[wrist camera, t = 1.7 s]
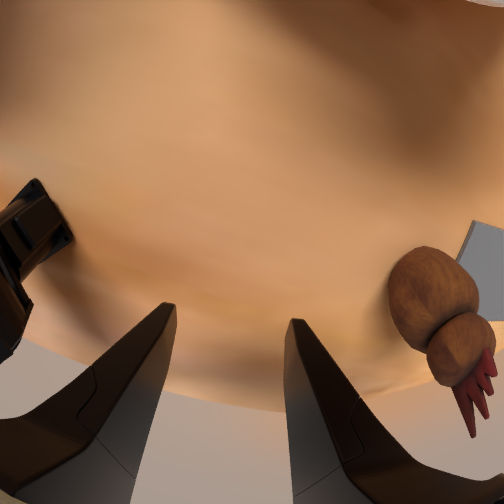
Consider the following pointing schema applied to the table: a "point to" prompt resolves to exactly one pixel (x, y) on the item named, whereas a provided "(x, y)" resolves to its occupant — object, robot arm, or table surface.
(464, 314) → the wooden figurine
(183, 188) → the table surface
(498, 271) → the felt mat
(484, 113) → the table surface
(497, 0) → the flanged gear
